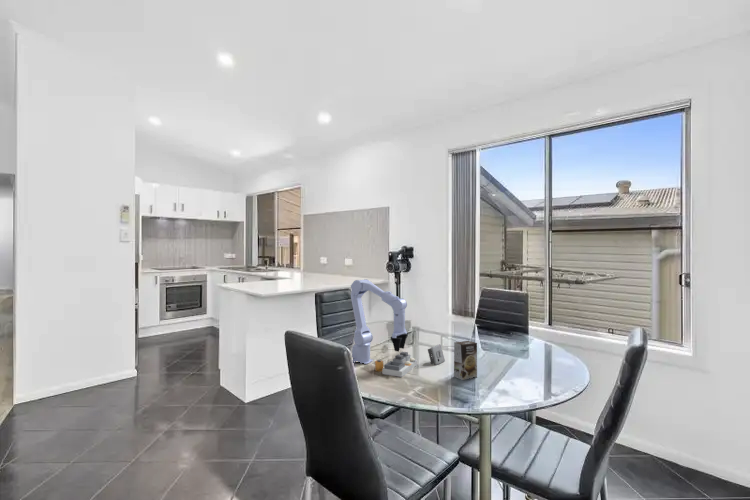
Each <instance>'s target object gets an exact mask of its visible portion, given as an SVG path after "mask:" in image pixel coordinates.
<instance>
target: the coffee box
mask: <svg viewBox="0 0 750 500" xmlns="http://www.w3.org/2000/svg"><path fill="white" fill-rule="evenodd" d="M453 377H455V378H457V379H459V380H462V381H464V380H468V379H469V378H470V379H474V378H473V377H476V378H477V377H478V343H477V342H475V341H472V340H471V341H470V340H464V341H454V342H453Z"/></svg>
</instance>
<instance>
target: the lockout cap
mask: <svg viewBox="0 0 750 500" xmlns="http://www.w3.org/2000/svg"><path fill="white" fill-rule="evenodd" d="M374 365H375V366H374V367H375V368H374V370H375V372H382V369H383V368H384V360H381V359H377V360H375V361H374Z"/></svg>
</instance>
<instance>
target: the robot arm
mask: <svg viewBox="0 0 750 500" xmlns="http://www.w3.org/2000/svg"><path fill="white" fill-rule="evenodd" d="M350 288H351V291H350V299H351V300H350V301H351V306H352V310H353V315H354V322H355V326H356V327H355V331H354V334H353V335H354V337H353V341H354V343H355V344H353V345H352V349H351V358H352V357H353V362H352V363H355V362H356V361H358V362H360V363H359V364H362V363H364V365H368V364H369V363H372V362H373V361H374V359H372V358H371V342H372V341H373V338H374V336H373V334H372V332H371V329H370V327H368V326H367V322H366V316H365V311H364V307H363V306H364V305H363V302H362V301H363V300H362V297H363V296H364V294H365V293H366V292H371V293H373V294H375V295H376V296H378V297H380V298H381V301H382V302H384V303H386V305H389V306H390V307H391V309H392V310H393V331H392V334H391V336H390V341H391V342H392V345H393V349H394V350H393V351H394V352H399V353H400V350H401V349H404V348H405V344H406V341H407V338H408V336H409V334H408V331H407V329H406V308H407V306H408V303H407V300H406V299H404V298H403V297H402V298H401V297H399V296H397V295H395V294H393V292H392V291H390V290H388V291H385V290H383V289H381V288H380V287H379V286H377V285H376V284H374V283H373V282H372V281H371V280H369V279H365V278H364V279H356V280H354V281H353V282H352V283H351V285H350ZM354 361H355V362H354Z"/></svg>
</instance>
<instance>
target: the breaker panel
mask: <svg viewBox="0 0 750 500" xmlns="http://www.w3.org/2000/svg"><path fill="white" fill-rule="evenodd" d="M416 366H418V359H415V358H414V357H411V354H408V356H407V357H404V359H402V360H398V359H395V357H394V358H392V360H389V361H388V362H387V363H385V364H383V369H382V371H381V372H382V375H385V376H392V377H401V378H402V377H404V376H405V375H407V374H408V373H409V372H410V371H411V370H413V369H414V368H415V367H416Z"/></svg>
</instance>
